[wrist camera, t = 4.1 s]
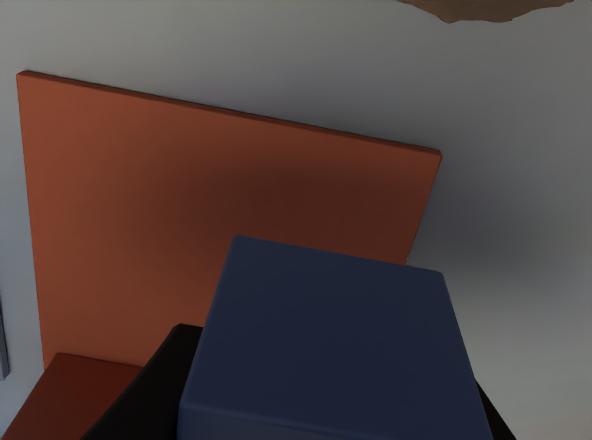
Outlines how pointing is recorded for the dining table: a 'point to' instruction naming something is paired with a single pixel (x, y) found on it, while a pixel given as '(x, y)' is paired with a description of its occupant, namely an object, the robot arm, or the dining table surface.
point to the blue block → (328, 352)
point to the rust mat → (187, 206)
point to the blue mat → (3, 355)
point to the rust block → (70, 398)
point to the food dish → (482, 8)
